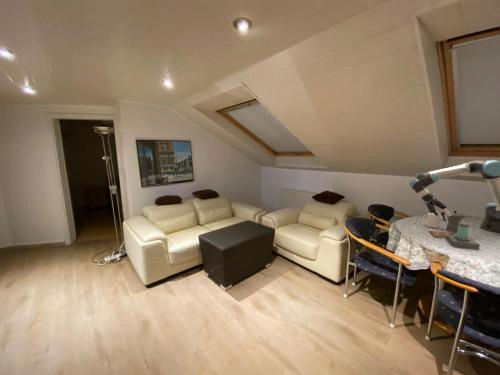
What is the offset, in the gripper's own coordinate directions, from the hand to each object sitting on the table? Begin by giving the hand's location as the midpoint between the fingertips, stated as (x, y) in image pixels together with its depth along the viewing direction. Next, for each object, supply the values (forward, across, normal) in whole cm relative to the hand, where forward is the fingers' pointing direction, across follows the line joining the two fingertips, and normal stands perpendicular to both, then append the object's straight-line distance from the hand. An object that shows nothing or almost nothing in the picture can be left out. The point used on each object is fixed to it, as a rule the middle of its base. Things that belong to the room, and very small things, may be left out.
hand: (446, 217), depth 165 cm
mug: (-1, -24, -27) cm, 36 cm away
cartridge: (+20, 0, -5) cm, 21 cm away
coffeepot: (+9, -26, -17) cm, 32 cm away
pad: (+10, -8, -15) cm, 20 cm away
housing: (+20, 0, -5) cm, 21 cm away
